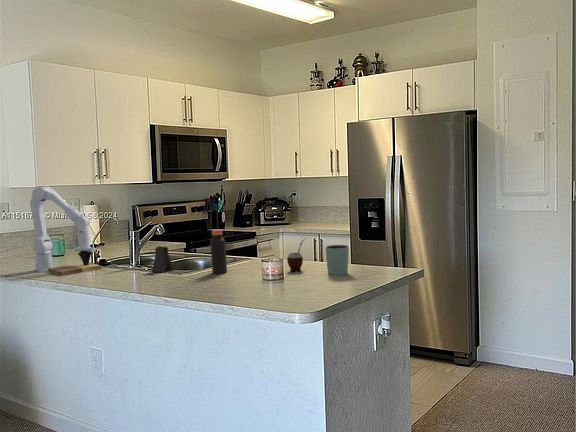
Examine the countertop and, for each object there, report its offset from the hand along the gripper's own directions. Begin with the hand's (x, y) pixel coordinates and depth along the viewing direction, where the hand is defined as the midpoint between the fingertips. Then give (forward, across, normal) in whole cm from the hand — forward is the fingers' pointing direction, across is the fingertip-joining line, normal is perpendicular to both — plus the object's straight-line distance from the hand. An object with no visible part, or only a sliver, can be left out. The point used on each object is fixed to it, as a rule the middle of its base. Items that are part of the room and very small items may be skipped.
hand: (86, 265), depth 297 cm
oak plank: (+2, 0, -1) cm, 2 cm away
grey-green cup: (+4, +133, +30) cm, 137 cm away
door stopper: (+3, +47, +9) cm, 48 cm away
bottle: (+3, +78, +15) cm, 80 cm away
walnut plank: (+2, -3, -11) cm, 11 cm away
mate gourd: (+3, +112, +30) cm, 116 cm away
